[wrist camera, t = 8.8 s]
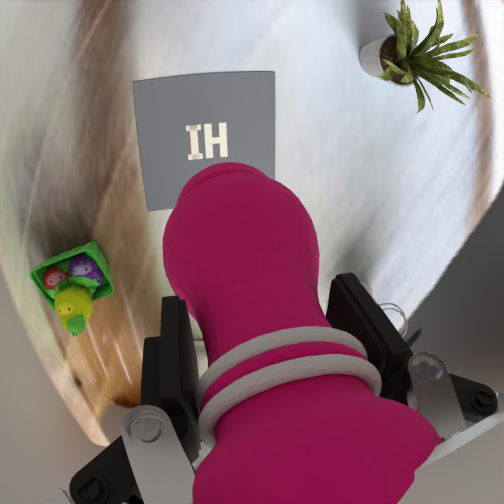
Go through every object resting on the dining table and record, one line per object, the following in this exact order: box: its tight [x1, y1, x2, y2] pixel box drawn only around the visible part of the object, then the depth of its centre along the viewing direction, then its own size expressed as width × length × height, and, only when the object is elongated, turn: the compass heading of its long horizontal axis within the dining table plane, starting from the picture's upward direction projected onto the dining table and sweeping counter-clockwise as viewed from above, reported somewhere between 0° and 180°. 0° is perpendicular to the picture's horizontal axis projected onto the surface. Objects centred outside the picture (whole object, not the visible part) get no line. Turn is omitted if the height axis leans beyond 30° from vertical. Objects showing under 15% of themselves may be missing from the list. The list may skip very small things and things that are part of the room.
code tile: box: [133, 72, 275, 211], centre depth 37 cm, size 17×17×1 cm
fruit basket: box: [30, 241, 114, 336], centre depth 37 cm, size 11×9×11 cm
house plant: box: [359, 0, 491, 113], centre depth 28 cm, size 14×14×16 cm
